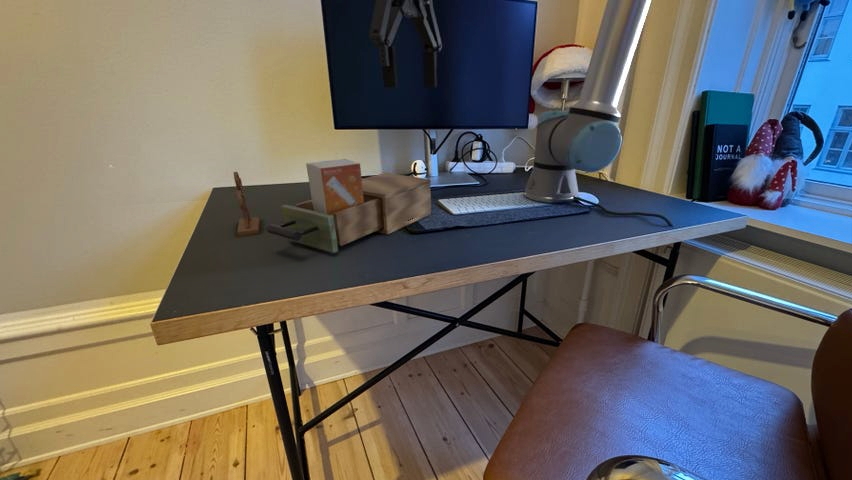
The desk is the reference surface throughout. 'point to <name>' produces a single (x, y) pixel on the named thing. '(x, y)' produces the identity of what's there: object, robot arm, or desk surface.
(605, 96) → the robot arm
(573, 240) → the desk surface
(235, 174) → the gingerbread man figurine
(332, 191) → the small box
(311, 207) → the drawer
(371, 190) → the cabinet
